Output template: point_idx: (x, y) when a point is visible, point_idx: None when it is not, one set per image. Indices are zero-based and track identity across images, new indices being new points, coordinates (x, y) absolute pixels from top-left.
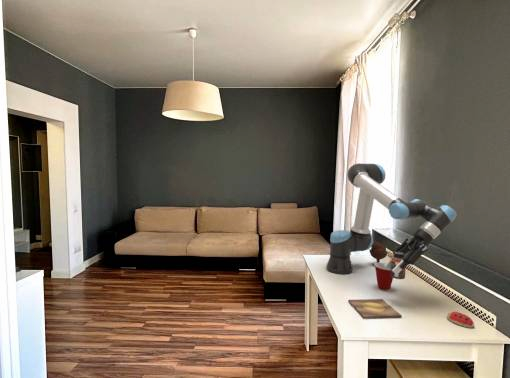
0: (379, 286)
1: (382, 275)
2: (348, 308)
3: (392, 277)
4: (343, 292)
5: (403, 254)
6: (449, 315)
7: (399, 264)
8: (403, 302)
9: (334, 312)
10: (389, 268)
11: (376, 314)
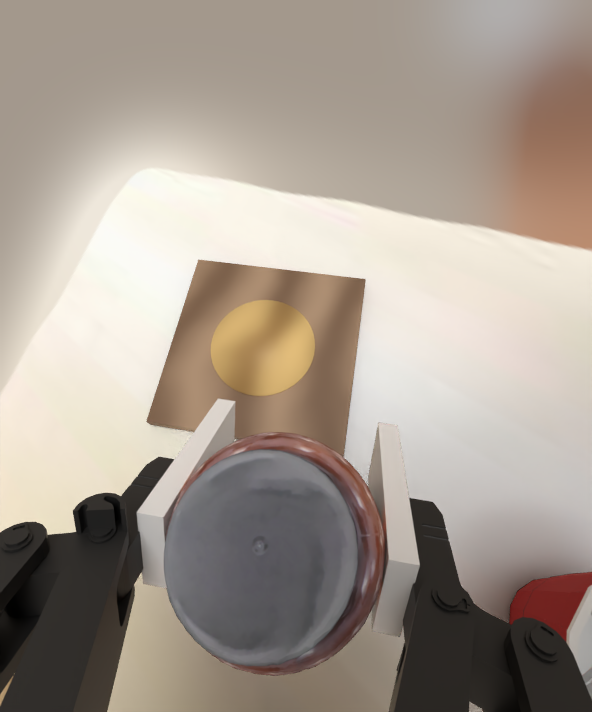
0: (546, 578)
1: (567, 589)
2: (301, 256)
3: None
4: (483, 317)
5: (171, 595)
6: (2, 697)
7: (176, 460)
8: None
9: (281, 196)
10: (370, 482)
11: (195, 316)
